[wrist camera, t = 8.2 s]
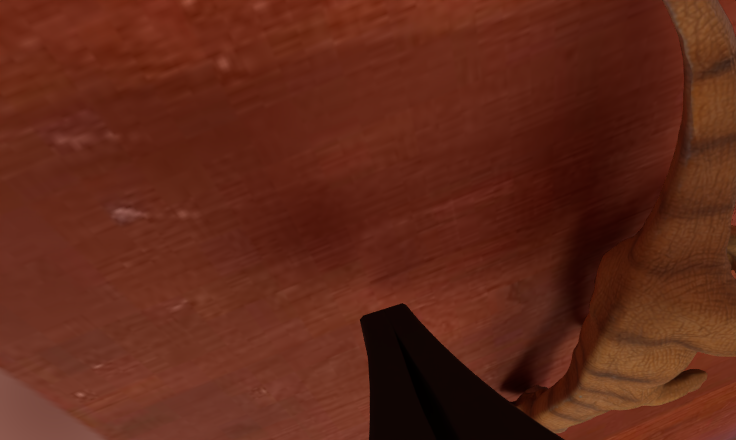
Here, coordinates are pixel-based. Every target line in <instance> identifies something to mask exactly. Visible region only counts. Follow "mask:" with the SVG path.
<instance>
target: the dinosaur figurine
mask: <svg viewBox="0 0 736 440" xmlns="http://www.w3.org/2000/svg"><path fill="white" fill-rule="evenodd" d="M662 1H663V3H664V5H665V7H666V9H667V11H668V13H669V15H670V17H671V20H672V22H673V24H674V27H675V29H676V32H677V34H678V36H679V41H680V46H681V51H682V55H683V63H684V91H683V114H682V121H681V125H680V130H679V134H678V140H677V145H676V149H675V152H674V156H673V159H672V162H671V166H670V169H669V172H668V175H667V177H666V179H665V182H664V184H663V187H662V190H661V192H660V195H659V197H658V199H657V202H656V204H655V206H654V209H653V210H652V212H651V214H650V215H649V216H648V218H647V220H646V222H645V224H644V226H643V227H642V229H641V230H640V231H639V232H638V233H637V234H636V235H635V236H634V237H631V238H628V239H625V240H624V241H622V242H620V243H618V244H617V245H616V247H615V248H613V249H611V250H609V251H608V252H606V254H604V256H603V257H602V260H601V262H600V264H599V267H598V271H597V275H596V278H595V289H594V292H593V295H592V298H591V300H590V304H589V314H588V315H587V317H586V318H585V321H584V323H583V326H582V328H581V332H580V336H579V342H578V344H577V346H576V347H575V349H574V351H573V355H572V360H571V364H570V367H569V369H568V371H567V373H566V374H565V375H564V376H563V378H561V379H560V380H559V381H558V382H557V383H556V384H555V385H554V386H552V387H551V388H549V389H548V388H547V387H541V386H539V385H536V386H533V387H532V388H528V389H526V390H525V392H524V393H523V394H522V395H521V396H520V397H519V398H518V399H517V401H514V402H510V403H512V404H513V405H514V406H516V407H517V408H518V409H520V410H521V411H522V412H524V413H525V414H527V415H528V416H530V417H531V418H532V419H534V420H535V421H537V422H538V423H540V424H541V425H542V426H544V427H546V428H547V429H549V430H550V431H552V432H553V433H555V434H556V433H561V432H563V431H566V430H567V427H570V426H573V425H576V424H580V423H582V422H585V421H587V420H590V419H592V418H594V417H595V416H598V415H601V414H604V413H606V412H608V411H610V410H628V409H633V408H637V407H639V406H643V405H647V406H657V405H661V404H665V403H668V402H671V401H674V400H676V399H678V398H680V397H682V396H684V395H686V394H687V393H688V392H692V391H695V390H697V389H699V388H700V386H701V384H702V383H703V382H704V381H705V380H706V378H707V373H706V372H705V371H702V370H700V369H690V370H686V371H683V370H684V369H685V368H686V367H687V366H688V365H689V364H690V362H691V361H692V359H693V357H694V356H695V354H696V353H697V352H701V353H705V354H710V355H715V356H725V357H734V356H736V279H735V278H734V277H733V276H732V274H731V270H734V271H735V272H736V226H733V225H731V218H732V214H733V210H734V206H735V202H736V37H735V34H734V31H733V28H732V25H731V23H730V21H729V19H728V17H727V16H726V14H725V12H724V10H723V8H722V7H721V5H720V3H719V2H718V0H662ZM682 371H683V372H682Z"/></svg>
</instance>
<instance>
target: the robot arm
mask: <svg viewBox="0 0 736 440" xmlns="http://www.w3.org/2000/svg"><path fill="white" fill-rule="evenodd" d="M360 322H361V327H362V332H363V336H364V341H365V346H366V350H367V355H368V364H369V381H370V431H369V440H564V439H563V438H561V437H560V436H558V435H556V434H555V433H553V432H552V431H550V430H549V429H547V428H546V427H544V426H542V425H541V424H540V423H538V422H537V421H535V420H534V419H532V418H531V417H530V416H528V415H527V414H525V413H524V412H522V411H521V410H520V409H518V408H517V407H516V406H514V405H513V404H512V403H510V402H509V401H508V400H506V399H505V398H504V397H502V396H501V395H500V394H498V393H497V392H496V391H495V390H493V389H492V388H491V387H490V386H488V385H487V384H486V383H485V382H483V381H482V380H481V379H480V378H479V377H478V376H476V375H475V374H474V373H473V372H472V371H471V370H469V369H468V368H467V367H466V366H465V365H464V364H463V363H461V362H460V361H459V360H458V359H457V358H456V357H455V356H454V355H453V354H452V353H451V352H450V351H449V350H448V349H447V348H445V347H444V346H443V345H442V344H441V343H440V342H439V341H438V340H437V339H436V338H435V337H434V336H433V335H432V334H431V333H430V332H429V330H428V329H427V328H426V327H425V326H424V325H423V324H422V323H421V322H420V321H419V320H418V319H417V317H416V316H415V315H414V314H413V313H412V312H411V310H410V309H409V308H408V307H407V305H405V304H403V303H402V304H399V305H395V306H392V307H389V308H386V309H383V310H380V311H377V312H373V313H370V314H367V315H364V316H363V317H362V318H361V319H360Z"/></svg>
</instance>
